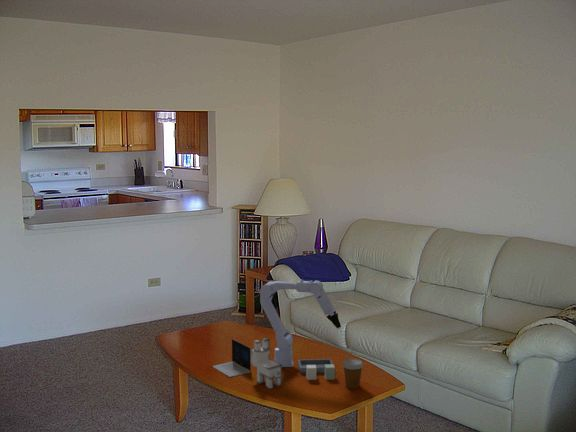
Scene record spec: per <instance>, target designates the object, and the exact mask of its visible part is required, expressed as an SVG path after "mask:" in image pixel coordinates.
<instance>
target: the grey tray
mask: <svg viewBox="0 0 576 432" xmlns="http://www.w3.org/2000/svg"><path fill="white" fill-rule="evenodd" d="M325 364H333V361H332V359H331V358H316V359H315V358H313V359H298V360H297V366H298V370H299V374H300V375H303V374H304V375H305V374H306V365H316V374H325Z"/></svg>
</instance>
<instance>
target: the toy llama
mask: <svg viewBox="0 0 576 432" xmlns="http://www.w3.org/2000/svg"><path fill="white" fill-rule="evenodd" d="M270 353H271V352H270V339H269V338H268V337H264V338H262V341H261V340H259V339H257V340H253V348H251V366H253V367H255V368H256V382H257V383H258V384H259V385H261V384H264V383H265V388H267V389H270V390H271V389H273V388H274V386H276V387H279V386H282V385H283V379H282V378H283V367H282V365H281V364H279V363H277V362H275V361H274V360H273V359H270V357H271V355H270Z"/></svg>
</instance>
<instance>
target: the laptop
mask: <svg viewBox="0 0 576 432" xmlns="http://www.w3.org/2000/svg"><path fill="white" fill-rule="evenodd" d="M251 350H252V348H251V347H250V346H248V345H245V344H244V343H241V342H240V341H238V340H236V339H233V338H231V357H232V359H231V361H227V362H225V363H220V364H215V365H212V366H211V367H212V368H213V369H215V370H217V371H218V372H220V373H222V374H224V375H225V376H226V377H229V378H232V377H237V376H241V375H247V374H248V373H249V374H250V373H251V371H252V365H251Z"/></svg>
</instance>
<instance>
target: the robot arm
mask: <svg viewBox="0 0 576 432" xmlns="http://www.w3.org/2000/svg"><path fill="white" fill-rule="evenodd" d="M280 290H295V291H296V292H298V293H310V294H311V295H313V296H314V298H315V299H316V301H317V303H318V304H319V307H320V308H321V310H322V312H323V313H324V314H323V315H324V316H325V318H327V319H328V320H329V321H330V323H332V325H333V326H334V327H335V328H336V329H340V328H342V325H341V322H340V319H339V313H338V312H337V311H336V310H337V309H338V307H337V306H335V307H334V305H333V303H332V302H331V300H330V298H329V296H328V294H327V292H326V291H325V289H324V285H323V283H322V281H320V280H318V279H316V280H314V281H313V279H311V280H304V279H300V280H297V282H290V281H281V280H270V281H268V282H267V283H265V284H263V285H262V286H260V288H259V291H258V292H259V296H260V297H259V302H260V305H261V308H262V310H263V311H264V312H265V316H266V318H268V320H269V322H270V325H271V326H272V329H273V331H274V333H275V340H276V345H277V347H275V348H274V359H273V361H275V362H277V363H279V364H281V365H282V368H293V367H294V366H295V365H294V361H293V345H292V344H293V343H294V336H293V334H292V333H290V331H289V330H288V329H287V328H285V326H284V323H283V322H282V320H281V318H280V316H279V314H278V313H277V310H276V308H275V306H274V304H273V303H272V300H273V297H274V295H275V293H276V292H278V291H280Z"/></svg>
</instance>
